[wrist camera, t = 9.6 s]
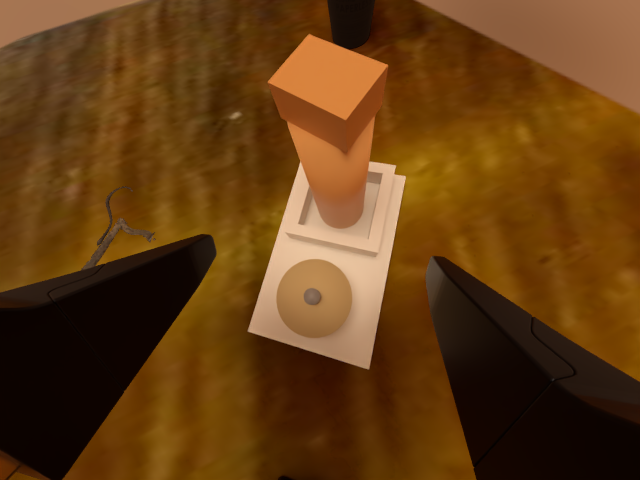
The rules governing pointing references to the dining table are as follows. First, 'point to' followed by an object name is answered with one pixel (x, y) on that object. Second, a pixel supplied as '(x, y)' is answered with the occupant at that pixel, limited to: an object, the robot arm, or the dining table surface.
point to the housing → (330, 272)
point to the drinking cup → (350, 21)
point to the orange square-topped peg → (331, 122)
